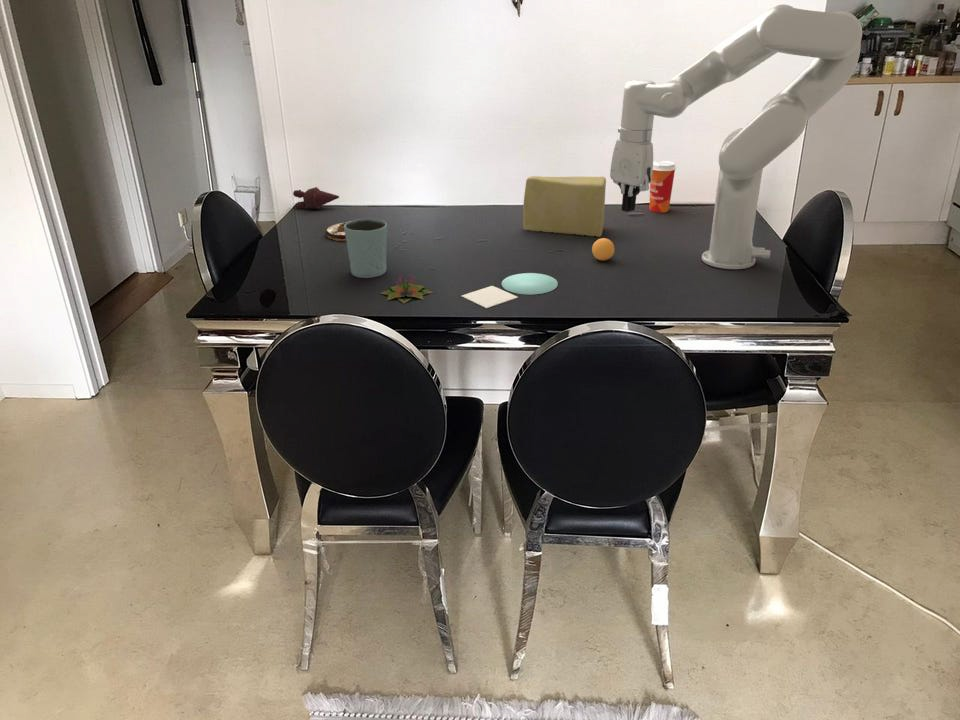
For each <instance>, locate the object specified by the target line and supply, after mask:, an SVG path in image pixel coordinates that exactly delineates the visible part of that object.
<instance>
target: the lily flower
mask: <svg viewBox="0 0 960 720" xmlns="http://www.w3.org/2000/svg"><path fill="white" fill-rule="evenodd" d="M398 279H399V282H400V283H401V284H400V283H399V282H397V281H395V283H396V284H397V285H394V286H390V289H389V290H385V291H383V292H379V294H382V295H387V299H386V300H385V301H388V300H389V301H390V300H392V299H395V298H397V300H398V301H399V302H401V303H402V304H406V303H407V302H409V301H410V300H412V299H413V298H417V299H421V300H424V299H425V298H424V295H427V294H433V293H435V292H433V291H432V290H429V289H423V288H425V286H424V285H419V284H415V282H413V280H414V279H416V277H415V276H414V274H411V276H410V277H409V278H408V280H407V279H404V278H403V276H402V275H400V276H399V277H398ZM412 282H413V283H412ZM401 292H404V294H405V295H407V294H408V293H409V292H412V294H411V295H408V297H409V298H406V299H405V300H404V298H402V297H404V295H401Z"/></svg>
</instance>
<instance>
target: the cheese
mask: <svg viewBox="0 0 960 720" xmlns="http://www.w3.org/2000/svg"><path fill="white" fill-rule="evenodd" d="M606 186H607V179H606V177H605V176H542V175H541V176H539V175H534V176H528V177H527V178H526V180H525V188H524V195H523V210H522V212H523V213H522V219H523V220H522V229H523V230H524V231H527V230H530V232H539V231H543V232H544V233H551V232H553V233H552V234H554V233H555V234H564V235H566V234H567V235H575V234H576V235H577V236H584V235H586V236H587V237H594V236H596V238H600V237H602V235H603V231H604V226H605V225H604V221H605V205H606V203H605V202H606ZM543 232H542V233H543Z"/></svg>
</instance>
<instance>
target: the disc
mask: <svg viewBox="0 0 960 720" xmlns="http://www.w3.org/2000/svg"><path fill="white" fill-rule="evenodd" d="M558 284H559V283H558V280H557V279H556V278H554V277H553V276H550V275H548V274H544V273H538V272H537V273H536V272H525V273H523V272H522V273H517V274H512V275H508V276H507V277H505V278H504V279H503V280H502V281H501V286H502V288H503V289H504V290H506V292H509V293H513V294H517V295H527V296H528V295H529V296H530V295H532V296H533V295H541V294H546V293H549V292H552V291H554V290H555V289H556V288H557V287H558Z"/></svg>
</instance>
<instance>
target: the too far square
mask: <svg viewBox="0 0 960 720" xmlns="http://www.w3.org/2000/svg"><path fill="white" fill-rule="evenodd" d="M461 297H462V298H464V299H466V300H468V301H471V303H474V304H477V305H479V306H481V307H483V308H485V309H488V308H491V307H494V306H498V305H500V304H503V303H507V302H510V301H512V300H515V299H518V298H519V297H518V296H517V295H514V294H512V293H511V292H509V291H507V290H506V291H505V290H503V289H501V288H499V287H496V286H494V285H490V286H487V287H484V288H481V289H478V290H474V291H471V292H468V293H466V294H463V295H461Z"/></svg>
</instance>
